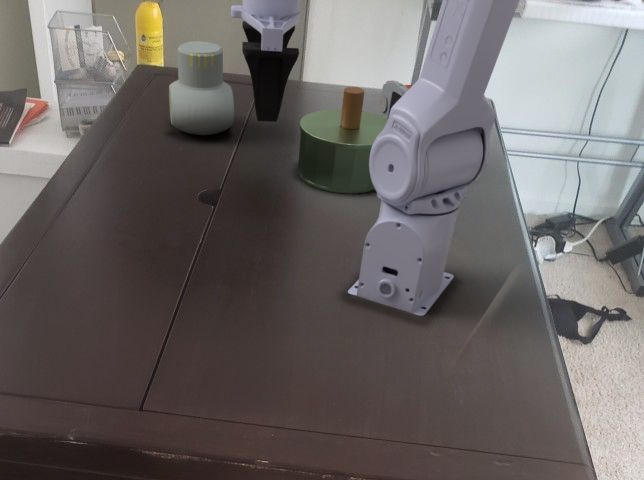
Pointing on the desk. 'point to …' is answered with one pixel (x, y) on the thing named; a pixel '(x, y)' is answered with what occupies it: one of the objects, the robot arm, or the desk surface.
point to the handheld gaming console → (390, 96)
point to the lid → (344, 123)
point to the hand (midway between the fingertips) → (266, 108)
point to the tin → (334, 167)
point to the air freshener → (201, 91)
